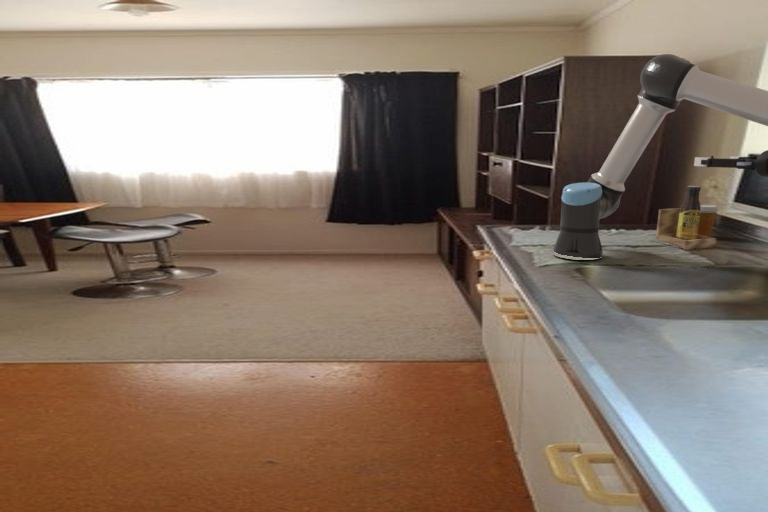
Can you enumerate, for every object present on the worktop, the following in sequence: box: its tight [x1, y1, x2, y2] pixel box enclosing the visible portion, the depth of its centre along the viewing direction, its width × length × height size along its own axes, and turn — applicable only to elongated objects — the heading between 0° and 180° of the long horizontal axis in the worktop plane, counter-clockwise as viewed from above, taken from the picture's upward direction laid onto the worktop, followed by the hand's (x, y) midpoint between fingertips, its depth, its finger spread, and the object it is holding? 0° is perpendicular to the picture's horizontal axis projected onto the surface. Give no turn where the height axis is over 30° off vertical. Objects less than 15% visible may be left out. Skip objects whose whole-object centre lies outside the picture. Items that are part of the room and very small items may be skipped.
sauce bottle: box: [676, 185, 702, 240], centre depth 172 cm, size 6×6×20 cm
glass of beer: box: [697, 203, 719, 237], centre depth 186 cm, size 10×10×12 cm
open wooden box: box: [655, 207, 717, 250], centre depth 174 cm, size 13×13×12 cm
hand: (713, 161), depth 157 cm, fingers open, 13 cm apart
